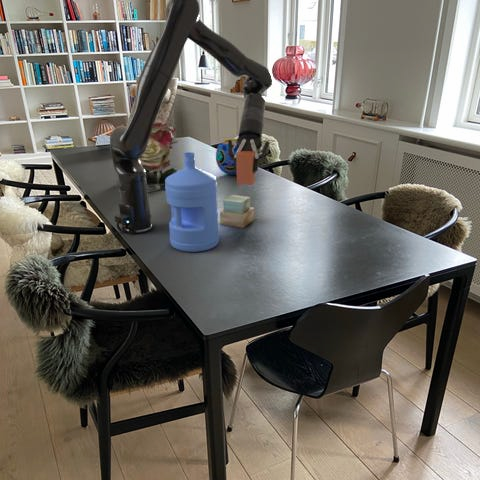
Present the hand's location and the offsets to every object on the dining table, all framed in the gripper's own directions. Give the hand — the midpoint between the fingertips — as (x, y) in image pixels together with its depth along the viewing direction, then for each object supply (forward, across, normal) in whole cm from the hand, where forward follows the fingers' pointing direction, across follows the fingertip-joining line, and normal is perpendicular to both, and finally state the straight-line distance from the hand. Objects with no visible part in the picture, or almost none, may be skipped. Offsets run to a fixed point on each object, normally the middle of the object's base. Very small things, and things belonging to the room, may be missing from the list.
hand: (245, 170), depth 155 cm
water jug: (+25, -14, +4) cm, 28 cm away
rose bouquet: (-21, -52, +50) cm, 75 cm away
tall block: (+2, 0, +4) cm, 5 cm away
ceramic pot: (-38, -20, +67) cm, 79 cm away
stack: (+9, -4, +20) cm, 22 cm away
